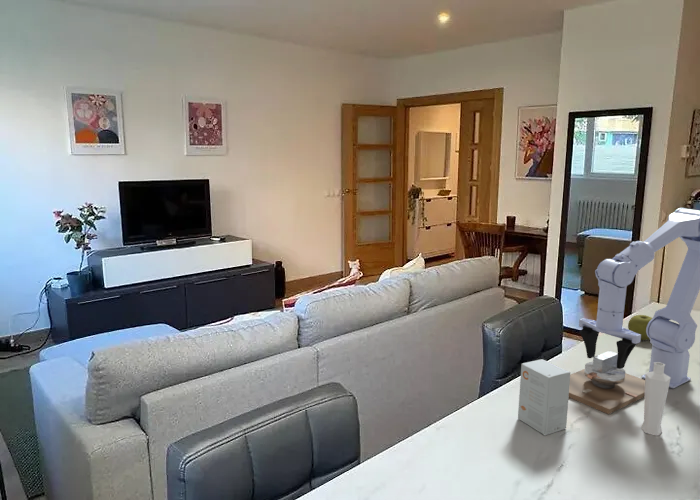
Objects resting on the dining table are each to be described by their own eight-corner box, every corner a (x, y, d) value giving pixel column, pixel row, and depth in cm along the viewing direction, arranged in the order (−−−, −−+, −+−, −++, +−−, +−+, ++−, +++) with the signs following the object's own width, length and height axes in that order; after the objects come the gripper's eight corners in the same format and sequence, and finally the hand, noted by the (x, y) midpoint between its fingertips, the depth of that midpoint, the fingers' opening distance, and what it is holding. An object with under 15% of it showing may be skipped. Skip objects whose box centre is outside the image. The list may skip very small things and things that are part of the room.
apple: (660, 343, 162) (663, 320, 161) (634, 343, 162) (636, 320, 161) (647, 334, 169) (649, 313, 168) (622, 334, 170) (624, 313, 168)
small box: (566, 429, 113) (571, 372, 110) (544, 436, 110) (549, 377, 108) (538, 412, 120) (542, 358, 118) (516, 418, 117) (520, 363, 115)
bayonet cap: (597, 366, 137) (599, 345, 136) (631, 378, 130) (634, 357, 129) (572, 376, 131) (574, 355, 130) (607, 389, 124) (609, 367, 123)
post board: (597, 367, 144) (598, 357, 144) (659, 389, 131) (660, 378, 130) (547, 388, 132) (548, 376, 131) (609, 414, 119) (611, 402, 118)
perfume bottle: (667, 437, 110) (676, 369, 107) (644, 435, 110) (652, 367, 108) (659, 426, 114) (667, 360, 111) (637, 424, 115) (645, 358, 112)
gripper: (573, 304, 131) (569, 356, 134) (631, 320, 120) (625, 376, 122) (590, 300, 135) (585, 350, 138) (648, 314, 123) (641, 369, 126)
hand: (605, 362), depth 130 cm, fingers open, 7 cm apart
